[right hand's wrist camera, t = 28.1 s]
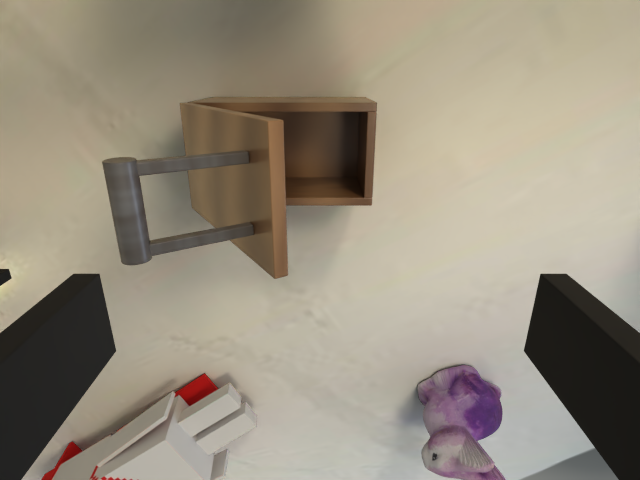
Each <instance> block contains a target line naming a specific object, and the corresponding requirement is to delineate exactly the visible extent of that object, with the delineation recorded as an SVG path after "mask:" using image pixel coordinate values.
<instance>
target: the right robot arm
mask: <svg viewBox="0 0 640 480" xmlns="http://www.w3.org/2000/svg"><path fill="white" fill-rule="evenodd" d="M115 352H116V348H115V344H114V339H113V335H112V330H111V325H110V321H109V316H108V311H107V307H106V302H105V298H104V293H103V288H102V284H101V279H100V274H73V275H72V276H70V277H69V278H68V279H67V280H65V281H64V282H63V283H62V284H61V285H59V286H58V287H57V288H56V289H54V290H53V291H52V292H51V293H49V294H48V295H47V296H46V297H44V298H43V299H42V300H41V301H39V302H38V303H37V304H36V305H35V306H33V307H32V308H31V309H30V310H28V311H27V312H26V313H25V314H23V315H22V316H21V317H20V318H18V319H17V320H16V321H15V322H14V323H12V324H11V325H10V326H9V327H7V328H6V329H5V330H4V331H2V332H1V333H0V480H21V479H22V478H23V476H24V475H25V474H26V472H27V471H28V470H29V468H30V467H31V466H32V464H33V463H34V462H35V460H36V459H37V457H38V456H39V455H40V453H41V452H42V451H43V449H44V448H45V447H46V445H47V444H48V443H49V441H50V440H51V438H52V437H53V436H54V434H55V433H56V432H57V430H58V429H59V428H60V426H61V425H62V424H63V422H64V421H65V420H66V418H67V417H68V415H69V414H70V413H71V411H72V410H73V409H74V407H75V406H76V405H77V403H78V402H79V401H80V399H81V398H82V396H83V395H84V394H85V392H86V391H87V390H88V388H89V387H90V386H91V384H92V383H93V382H94V380H95V379H96V377H97V376H98V375H99V373H100V372H101V371H102V369H103V368H104V367H105V365H106V364H107V363H108V361H109V360H110V358H111V357H112V356H113V354H114V353H115ZM524 352H525V353H526V354H527V356H528V357H529V358H530V360H531V361H532V363H533V364H534V365H535V367H536V368H537V369H538V371H539V372H540V373H541V375H542V376H543V377H544V379H545V380H546V382H547V383H548V384H549V386H550V387H551V388H552V390H553V391H554V392H555V394H556V395H557V396H558V398H559V399H560V401H561V402H562V403H563V405H564V406H565V407H566V409H567V410H568V411H569V413H570V414H571V415H572V417H573V418H574V420H575V421H576V422H577V424H578V425H579V426H580V428H581V429H582V430H583V432H584V433H585V434H586V436H587V437H588V438H589V440H590V441H591V443H592V444H593V445H594V447H595V448H596V449H597V451H598V452H599V453H600V455H601V456H602V457H603V459H604V460H605V462H606V463H607V464H608V466H609V467H610V468H611V470H612V471H613V472H614V474H615V475H616V476H617V478H618V479H619V480H640V333H639V332H638V331H636V330H635V329H634V328H633V327H631V326H630V325H629V324H628V323H626V322H625V321H624V320H623V319H622V318H620V317H619V316H618V315H617V314H615V313H614V312H613V311H612V310H610V309H609V308H608V307H607V306H605V305H604V304H603V303H602V302H601V301H599V300H598V299H597V298H596V297H594V296H593V295H592V294H591V293H589V292H588V291H587V290H586V289H584V288H583V287H582V286H581V285H579V284H578V283H577V282H576V281H575V280H573V279H572V278H571V277H570V276H568V275H567V274H540V279H539V284H538V288H537V293H536V298H535V302H534V307H533V311H532V316H531V321H530V325H529V330H528V335H527V339H526V344H525V348H524Z"/></svg>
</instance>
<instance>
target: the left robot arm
mask: <svg viewBox="0 0 640 480" xmlns="http://www.w3.org/2000/svg"><path fill="white" fill-rule="evenodd" d="M10 279H11V275H10V271H9V269H0V286H1V285H2V284H4V283H5V282H7V281H8V280H10Z"/></svg>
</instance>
